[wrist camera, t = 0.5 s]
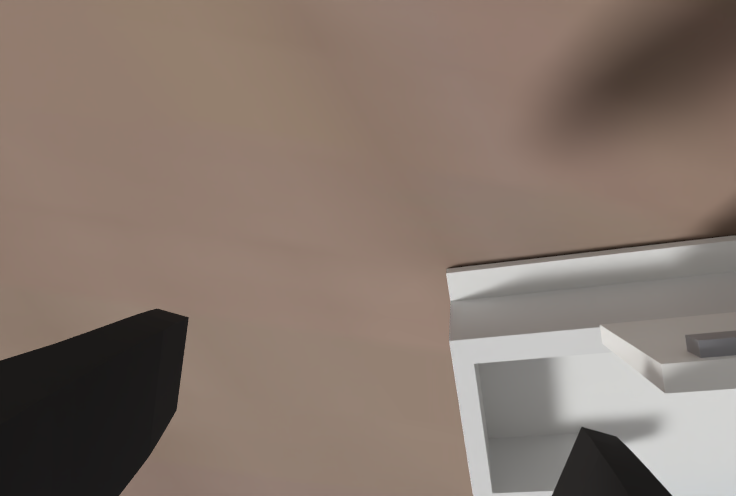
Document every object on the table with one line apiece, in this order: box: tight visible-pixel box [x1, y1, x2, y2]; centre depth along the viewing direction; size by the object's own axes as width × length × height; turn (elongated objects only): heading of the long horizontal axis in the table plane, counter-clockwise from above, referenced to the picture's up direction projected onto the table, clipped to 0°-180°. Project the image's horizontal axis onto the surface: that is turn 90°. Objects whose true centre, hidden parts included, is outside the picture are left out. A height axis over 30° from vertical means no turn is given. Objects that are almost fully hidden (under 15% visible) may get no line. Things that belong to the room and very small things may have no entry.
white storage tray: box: [446, 235, 736, 496], centre depth 19 cm, size 15×14×3 cm
